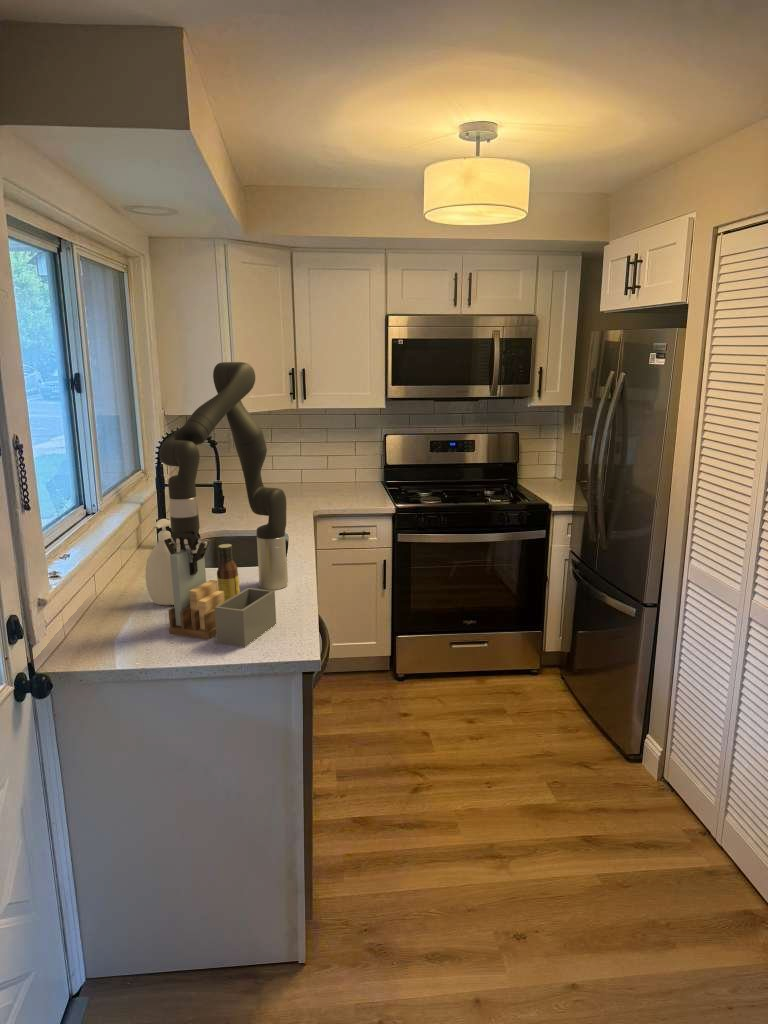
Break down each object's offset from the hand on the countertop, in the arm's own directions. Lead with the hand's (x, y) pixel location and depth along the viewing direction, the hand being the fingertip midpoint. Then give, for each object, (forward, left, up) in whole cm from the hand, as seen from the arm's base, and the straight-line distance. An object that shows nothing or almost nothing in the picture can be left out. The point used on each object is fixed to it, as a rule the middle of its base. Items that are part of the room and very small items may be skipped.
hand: (189, 573), depth 184 cm
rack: (0, +4, -15) cm, 16 cm away
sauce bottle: (-15, +2, -16) cm, 22 cm away
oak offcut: (-1, +4, -13) cm, 14 cm away
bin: (0, +18, -15) cm, 24 cm away
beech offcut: (+1, +8, -13) cm, 15 cm away
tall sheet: (0, 0, -13) cm, 13 cm away
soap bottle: (-12, -18, -16) cm, 27 cm away
